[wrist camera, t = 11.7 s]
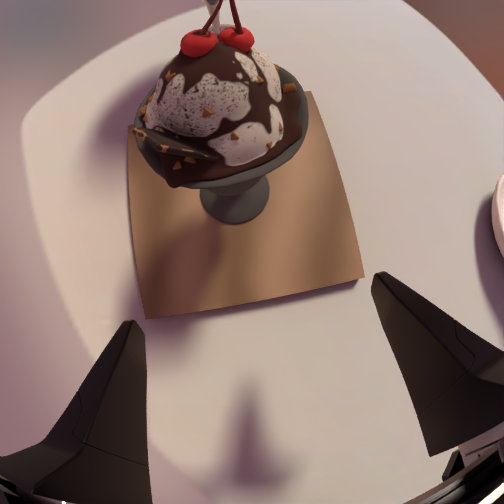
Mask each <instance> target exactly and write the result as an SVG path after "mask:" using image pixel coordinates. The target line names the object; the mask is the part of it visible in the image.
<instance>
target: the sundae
mask: <svg viewBox="0 0 504 504" xmlns="http://www.w3.org/2000/svg"><path fill="white" fill-rule="evenodd" d="M229 1H230V7H231V12H232V16H233V20H234V23H235V26H233V27H227V28H225V29H223V30H221V31H220V34H219V35H218V36H217V37H216V36H215V34H214V33H212V32H210V31H208V29H209V27H210V25H211V24H212V22H213V21H214V19H215V17H216V15H217V13H218V12H219V10H220V8H221V5H222V2H223V0H219V3H218V5H217V7H216V9H215V10H214V12H213V14H212V16H211V17H210V18H209V20H208V21H207V23H206V24H205V26H204V27H203V28H202V29H198V30H194V31H191V32H189V33H187V34H186V35H185V36H184V37H183V38H182V40H181V44H180V47H181V49H180V52H179V54H178V55H176V56H175V57H174V58H173V59H172V60H170V61H169V62H168V63H167V65H166V66H165V67H164V68H163V70H162V71H161V74H160V77H159V80H158V82H157V84H156V85H155V86H154V88H153V89H152V90H151V91H150V92H149V94H148V95H147V96H146V98H145V99H144V100H143V102H142V103H141V105H140V107H139V109H138V112H137V115H136V118H135V122H134V128H133V130H132V132H133V134H134V135H135V138H136V142H137V146H138V149H139V151H140V152H141V154H142V156H143V157H144V159H145V160H146V162H147V163H148V164H149V165H150V167H151V168H152V169H153V170H154V171H155V172H156V173H157V174H158V175H160V176H161V177H162V178H164V179H165V180H166V182H167V184H168V185H169V187H171V188H173V189H174V188H178V187H185V188H189V189H200V197H201V201H202V204H203V206H204V208H205V209H206V211H207V212H208V213H209V214H210V215H211V216H212V217H213V218H215V219H217V220H219V221H221V222H224V223H230V224H239V223H243V222H247V221H249V220H252V219H253V218H255V217H256V216H257V215H258V214H259V213H260V212H262V211H263V209H264V207H265V206H266V204H267V201H268V199H269V193H270V186H269V182H268V179H267V177H266V174H268V173H270V172H272V171H273V170H275V169H277V168H279V167H280V166H282V165H283V164H285V163H286V162H287V161H289V160H290V159H292V157H293V156H294V155H295V154H296V153H297V151H298V150H299V149H300V147H301V145H302V143H303V141H304V139H305V136H306V133H307V129H308V120H309V111H308V102H307V98H306V95H305V93H304V91H303V89H302V87H301V85H300V84H299V82H298V81H297V80H296V78H295V77H294V76H293V75H292V74H290V73H289V72H288V71H286V70H285V69H283V68H281V67H279V66H277V65H275V64H273V62H272V61H271V59H270V58H269V57H268V56H266V55H265V54H264V53H263V52H261V51H259V50H258V49H255V48H253V47H252V45H253V44H254V42H255V41H254V37H253V35H252V34H251V32H250V31H249V30H247V29H246V28H244V27H241V23H240V20H239V17H238V13H237V9H236V6H235V2H234V0H229Z"/></svg>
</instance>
